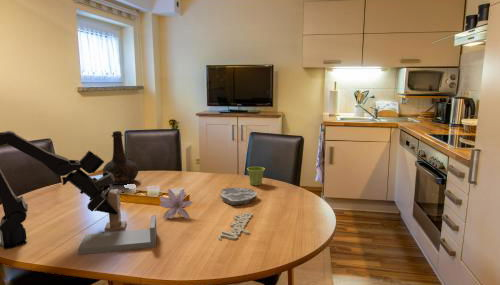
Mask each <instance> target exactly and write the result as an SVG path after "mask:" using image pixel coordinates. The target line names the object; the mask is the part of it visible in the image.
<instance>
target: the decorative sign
mask: <svg viewBox="0 0 500 285" xmlns="http://www.w3.org/2000/svg"><path fill="white" fill-rule="evenodd" d="M252 216H253V213H252V212H247V213H246V211H243V212H242V214H241V215H240V214H235V216H234V217H233V219H234V220H233V221H231V222H230V231H225V230H224V229H223V230H221V234H218V237H217V239H218V241H220V240H221V241H222V238H224V239H228V240H234V241H235V240H238V237H240V236H241V234H242V233H243V234H244V235H249V234H250V231H249V230H247V229H245V228H246V226H247V224H248V222H249V221H250V220H251V218H252ZM235 221H236V222H235Z"/></svg>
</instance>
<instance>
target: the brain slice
mask: <svg viewBox="0 0 500 285" xmlns="http://www.w3.org/2000/svg"><path fill="white" fill-rule="evenodd" d="M257 195H258V192H257V191H254V189H252V188H248V187H247V188H245V187H244V188H243V187H226V188H222V189H221V194H220V197H221V200H222V201H223V202H224V203H226V202H227V204H228V205H230V206H238V205H246V204H249V203H250V202H251V201H252V200H253V199H255V198H256V197H257Z"/></svg>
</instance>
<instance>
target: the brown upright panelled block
mask: <svg viewBox="0 0 500 285" xmlns="http://www.w3.org/2000/svg"><path fill="white" fill-rule="evenodd" d="M120 198H121V197H120V189H118V188H117V189H116V188H115V189H114V188H113V190H110V191H109V193H108V203H109V204H110V205H111V206H112V207H113V208H114V209H115V210H116V211H117V212H118V213H117V214H116V215H115V214H110V213H108V217H109V220H108V222H106V224H105V227H104V233H106V232H118V231H126V228H127V220H122V215H121V214H122V213H121V212H122V211H121V205H120V204H121V200H120Z"/></svg>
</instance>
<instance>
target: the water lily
mask: <svg viewBox="0 0 500 285" xmlns="http://www.w3.org/2000/svg"><path fill="white" fill-rule="evenodd" d="M167 195H168V197H169V198H168V197H160V198H159V200H160V203H159V206H160V207H161V208H164V209H168V210H167V211H166V212H164V214H163V216H162V219H163V220H167V219H168V218H169V219H173V218H174V217H175V215H176V214H177V213H179V215H181V216H182V217H184V218H185V219H190V214H189V213H188V211H187V210H186V209H185V208H186V207H188V206H191V205H193V204H194V202H193V201H191V200H187V201H184V199H185V197H186V192H185V188H182V189H181V190H180V191H179V193H178V195H177V196H176V195H175V193H174V192H173V190H172V189H168V188H167Z"/></svg>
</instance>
